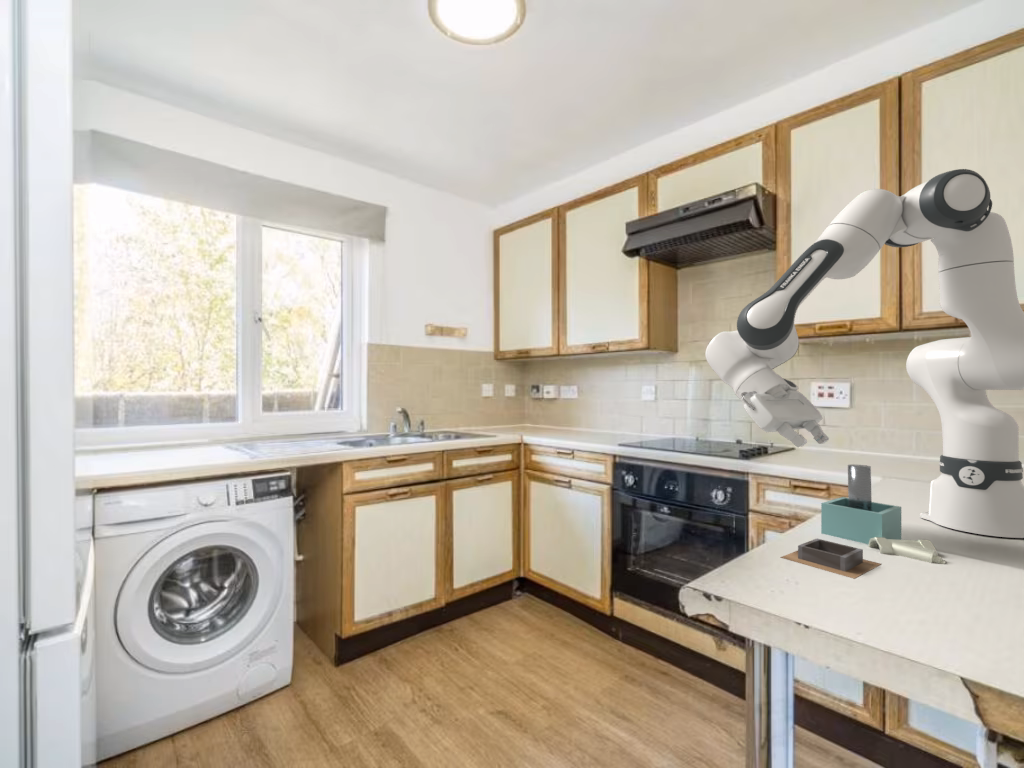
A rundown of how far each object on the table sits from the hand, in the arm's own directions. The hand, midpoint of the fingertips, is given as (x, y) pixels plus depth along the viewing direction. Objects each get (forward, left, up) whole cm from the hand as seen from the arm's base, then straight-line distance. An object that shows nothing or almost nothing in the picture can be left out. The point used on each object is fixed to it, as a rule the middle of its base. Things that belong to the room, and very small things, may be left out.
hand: (814, 443), depth 93 cm
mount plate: (+19, +10, -17) cm, 28 cm away
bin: (0, +8, -17) cm, 19 cm away
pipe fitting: (+5, +16, -18) cm, 25 cm away
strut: (0, +8, -16) cm, 18 cm away
